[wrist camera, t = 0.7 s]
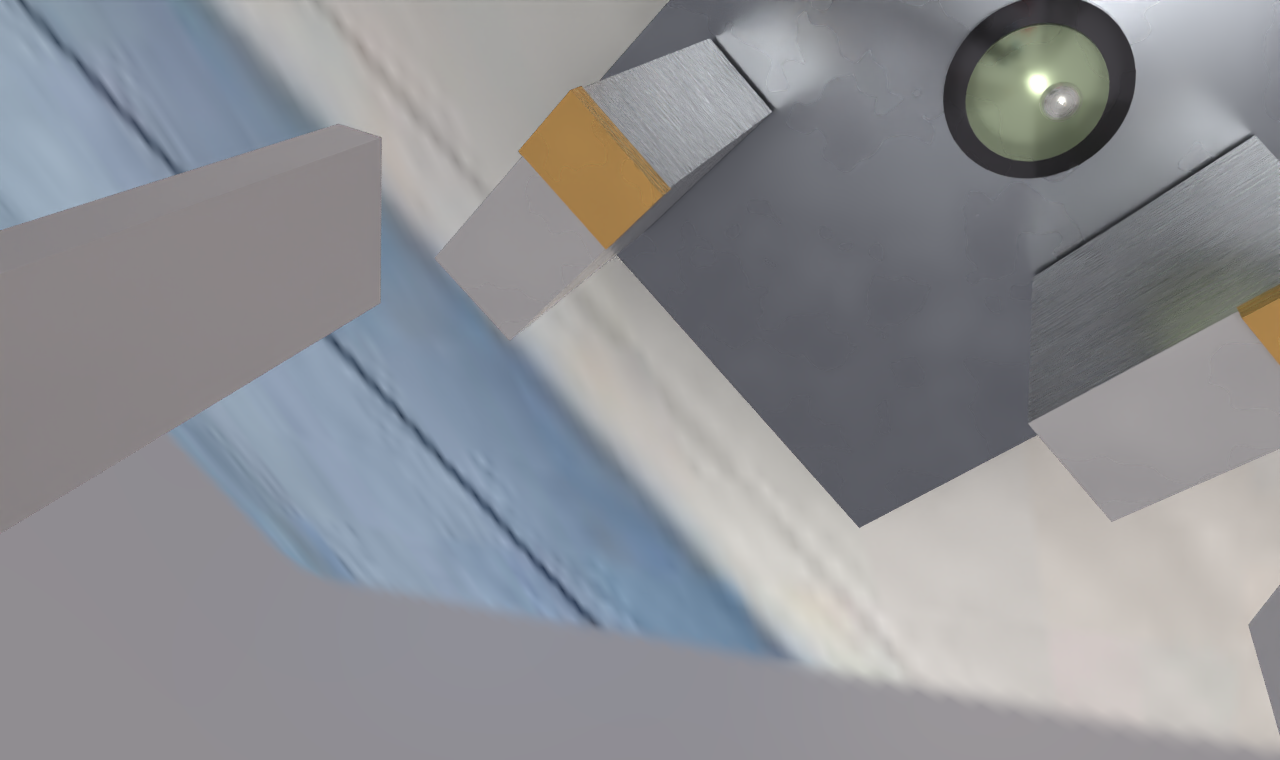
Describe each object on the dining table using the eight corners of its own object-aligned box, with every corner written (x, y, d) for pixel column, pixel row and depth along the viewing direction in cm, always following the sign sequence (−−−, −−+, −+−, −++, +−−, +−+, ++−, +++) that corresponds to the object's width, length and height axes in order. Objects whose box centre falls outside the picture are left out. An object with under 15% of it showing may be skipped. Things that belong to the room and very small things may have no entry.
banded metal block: (1031, 276, 29) (1026, 432, 20) (1254, 134, 25) (1365, 253, 16) (1093, 350, 29) (1114, 535, 20) (1323, 222, 25) (1468, 384, 16)
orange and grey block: (583, 171, 33) (423, 262, 25) (709, 37, 29) (570, 89, 21) (640, 237, 34) (502, 349, 25) (773, 112, 30) (662, 195, 21)
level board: (545, 151, 35) (507, 170, 33) (1389, -806, 18) (1446, -924, 15) (864, 511, 37) (851, 555, 34) (1908, -46, 20) (2034, -40, 17)
